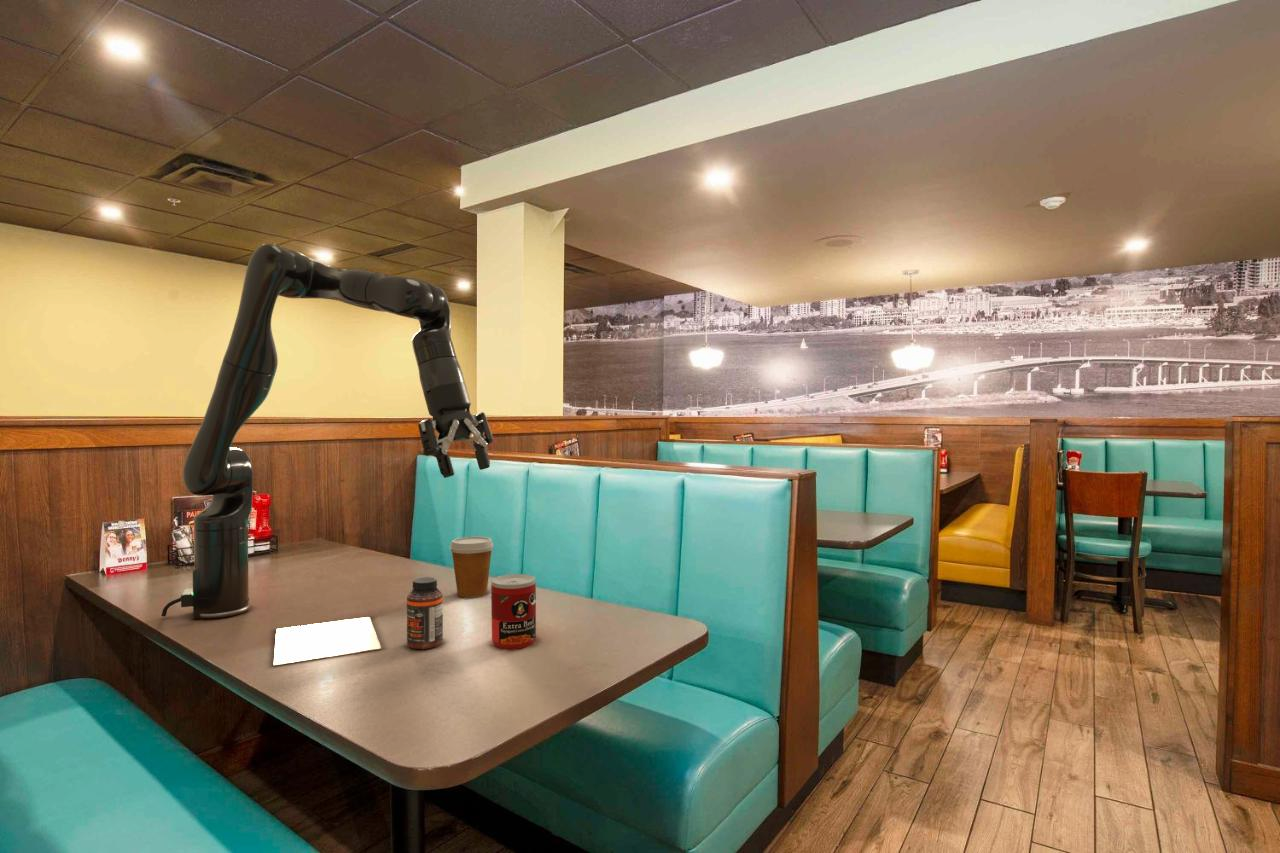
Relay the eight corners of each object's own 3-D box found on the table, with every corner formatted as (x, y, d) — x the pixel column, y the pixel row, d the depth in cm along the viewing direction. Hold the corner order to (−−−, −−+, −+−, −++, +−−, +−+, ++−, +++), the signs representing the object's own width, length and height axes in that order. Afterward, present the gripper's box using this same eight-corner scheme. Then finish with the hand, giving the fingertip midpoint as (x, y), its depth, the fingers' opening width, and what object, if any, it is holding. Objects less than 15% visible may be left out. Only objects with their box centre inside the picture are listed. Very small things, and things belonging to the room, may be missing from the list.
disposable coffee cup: (482, 600, 142) (482, 544, 142) (442, 598, 144) (441, 543, 144) (501, 589, 151) (500, 537, 151) (462, 587, 153) (461, 535, 153)
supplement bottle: (399, 647, 113) (398, 581, 113) (422, 637, 119) (422, 574, 119) (427, 652, 111) (426, 584, 111) (450, 641, 116) (449, 576, 116)
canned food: (498, 652, 111) (498, 587, 110) (486, 638, 118) (485, 576, 118) (542, 645, 114) (542, 581, 114) (528, 631, 121) (527, 571, 121)
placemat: (273, 666, 105) (273, 664, 105) (276, 630, 123) (276, 629, 123) (381, 649, 112) (381, 648, 112) (369, 617, 130) (369, 616, 130)
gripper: (460, 390, 128) (482, 471, 127) (398, 395, 116) (422, 484, 115) (486, 378, 124) (509, 461, 123) (425, 382, 112) (450, 474, 111)
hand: (467, 472), depth 119 cm, fingers open, 8 cm apart
